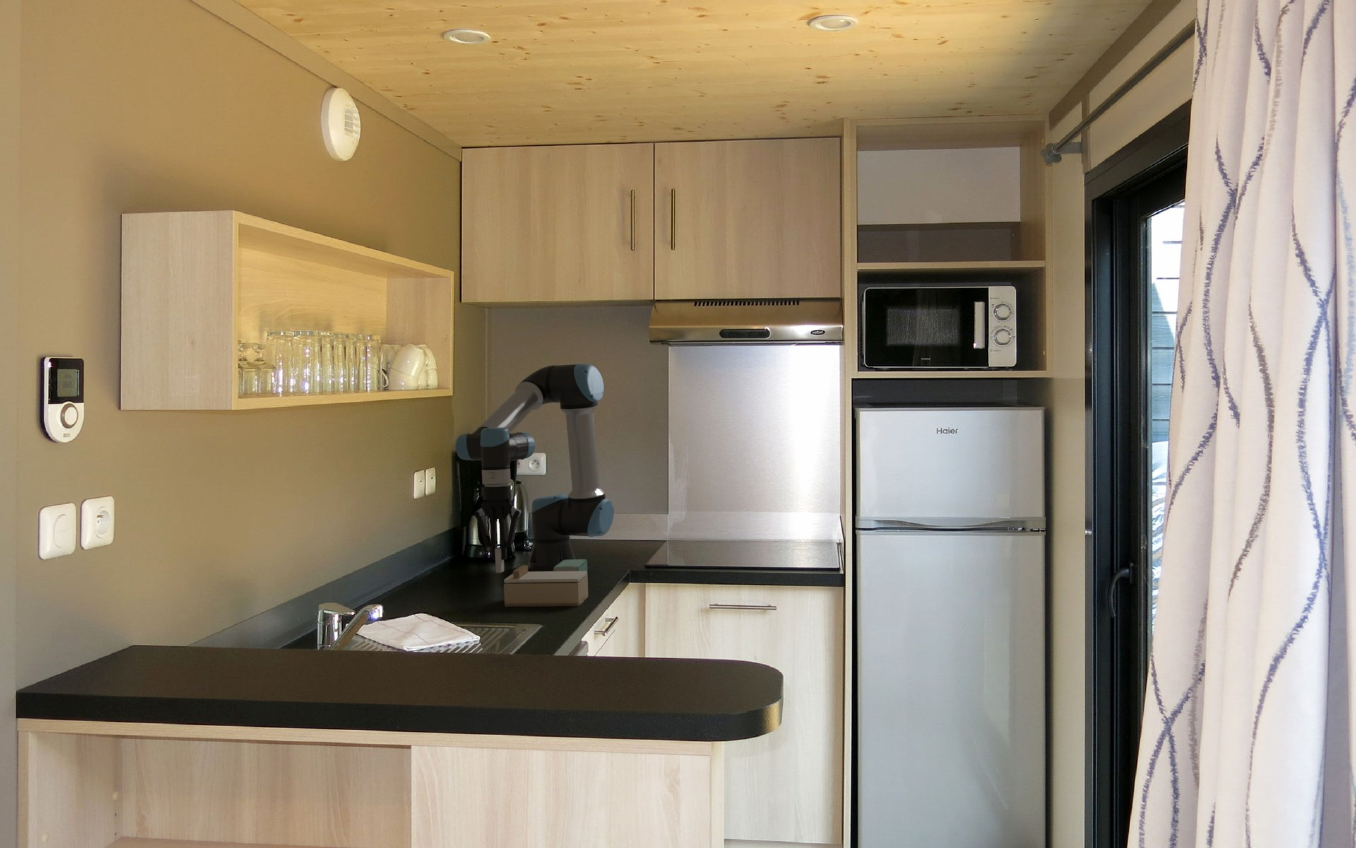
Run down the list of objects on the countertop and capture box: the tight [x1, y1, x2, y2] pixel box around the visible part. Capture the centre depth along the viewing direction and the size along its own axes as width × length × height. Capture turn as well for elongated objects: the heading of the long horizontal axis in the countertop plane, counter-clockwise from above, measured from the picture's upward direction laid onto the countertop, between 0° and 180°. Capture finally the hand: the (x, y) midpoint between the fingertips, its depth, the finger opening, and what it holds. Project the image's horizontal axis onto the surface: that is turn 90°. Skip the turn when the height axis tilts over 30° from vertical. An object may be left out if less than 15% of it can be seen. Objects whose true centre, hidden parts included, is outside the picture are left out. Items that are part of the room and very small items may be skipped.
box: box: [554, 558, 589, 578], centre depth 292 cm, size 7×14×8 cm, turn 174°
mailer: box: [503, 575, 589, 608], centre depth 274 cm, size 12×20×6 cm, turn 83°
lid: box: [503, 564, 588, 584], centre depth 274 cm, size 11×20×3 cm, turn 83°
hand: (500, 571), depth 275 cm, fingers closed
